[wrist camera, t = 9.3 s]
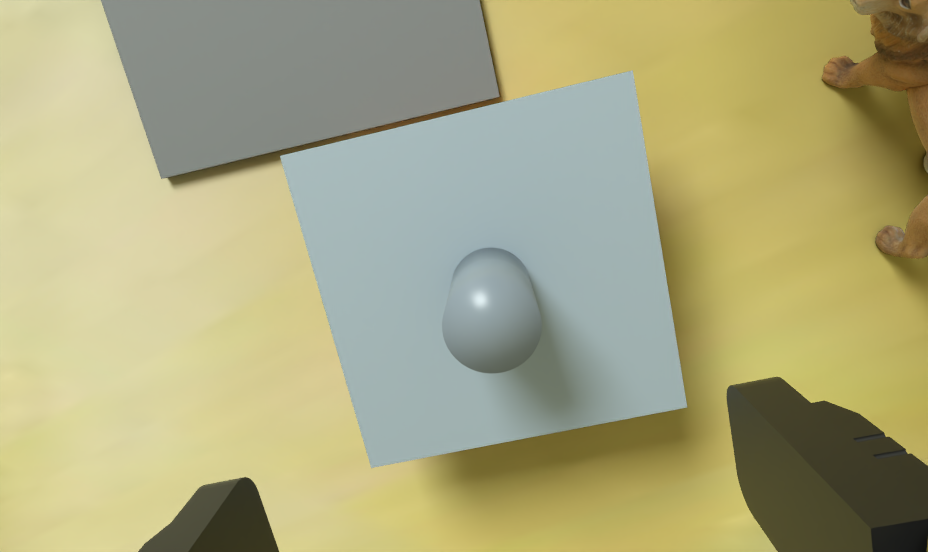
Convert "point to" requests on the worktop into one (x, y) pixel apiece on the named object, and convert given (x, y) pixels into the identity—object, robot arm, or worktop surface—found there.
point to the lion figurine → (896, 68)
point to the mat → (292, 70)
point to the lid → (493, 271)
